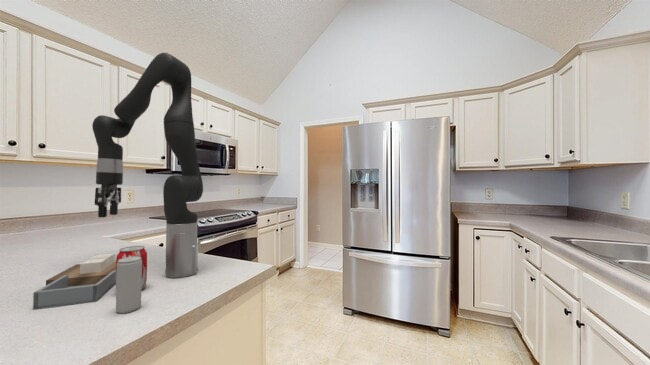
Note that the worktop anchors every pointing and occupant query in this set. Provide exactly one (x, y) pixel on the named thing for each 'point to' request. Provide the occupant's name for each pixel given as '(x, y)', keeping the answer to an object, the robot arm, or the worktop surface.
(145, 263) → the soda can
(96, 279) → the walnut board
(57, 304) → the grey tray
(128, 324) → the worktop surface
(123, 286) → the grey cylinder
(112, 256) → the rear tile
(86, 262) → the front tile
